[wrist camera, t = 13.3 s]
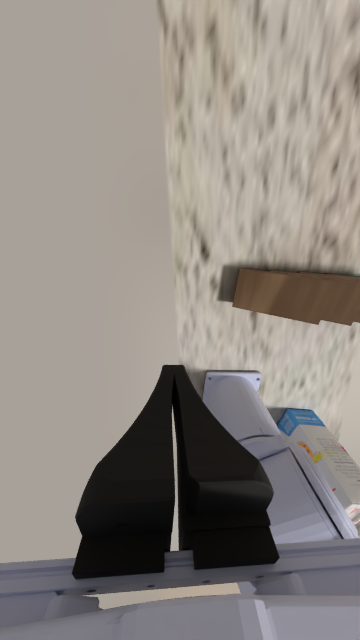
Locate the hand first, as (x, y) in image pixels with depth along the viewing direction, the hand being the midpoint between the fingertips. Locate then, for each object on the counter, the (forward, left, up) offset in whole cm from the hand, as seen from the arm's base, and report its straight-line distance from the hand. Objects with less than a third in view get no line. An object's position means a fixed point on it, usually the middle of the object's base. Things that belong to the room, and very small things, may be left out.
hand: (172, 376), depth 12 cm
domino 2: (+4, -10, -10) cm, 15 cm away
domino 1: (+4, -7, -10) cm, 13 cm away
